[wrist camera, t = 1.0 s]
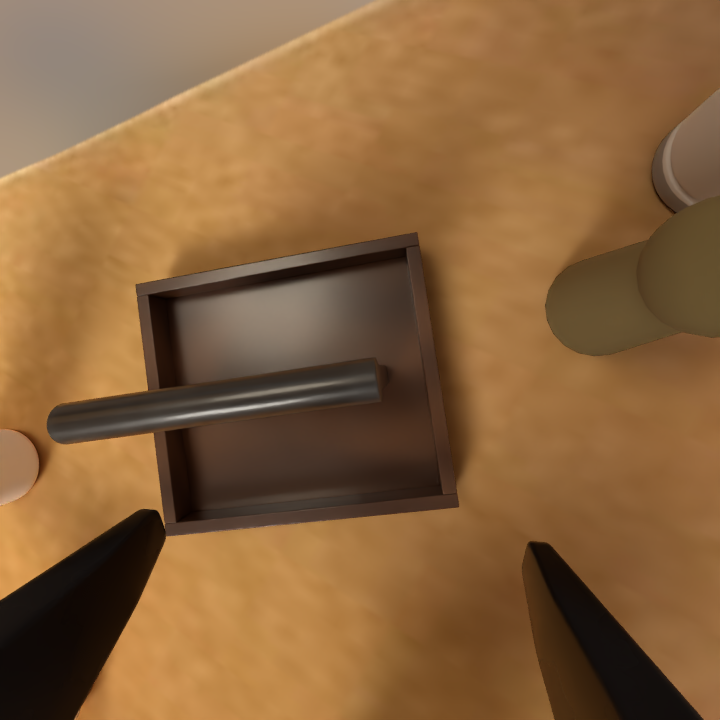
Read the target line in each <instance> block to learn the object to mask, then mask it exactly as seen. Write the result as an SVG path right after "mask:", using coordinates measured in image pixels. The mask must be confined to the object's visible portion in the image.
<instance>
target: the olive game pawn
mask: <svg viewBox="0 0 720 720" xmlns="http://www.w3.org/2000/svg"><path fill="white" fill-rule="evenodd" d="M545 307H546V315H547V321H548V323H549V325H550V327H551V330H552V332H553V334H554V335H555V336H556V337H557V338H558V339H559V340H560V341H561V342H562V343H563V344H564V345H565V346H567V347H569V348H571V349H572V350H574V351H576V352H578V353H582V354H587V355H592V356H599V355H610V354H614V353H617V352H620V351H623V350H626V349H630V348H633V347H636V346H639V345H642V344H645V343H649V342H652V341H655V340H658V339H661V338H664V337H668V336H671V335H674V334H677V333H680V332H685V333H689V334H695V335H700V336H705V337H711V338H714V337H720V195H719V196H715V197H711V198H707V199H705V200H702V201H700V202H698V203H696V204H693V205H691V206H689V207H687V208H684V209H683V210H681V211H679V212H678V213H676V214H674V215H673V216H672V217H671V218H670V219H668V220H667V221H666V222H665V223H664V224H663V225H661V226H660V227H659V228H658V229H657V230H656V231H655V232H654V233H653V234H652V236H651V237H650V238H649V240H646V241H643V242H639V243H636V244H633V245H630V246H627V247H624V248H620V249H617V250H614V251H611V252H608V253H605V254H601V255H598V256H595V257H592V258H589V259H586V260H583V261H580V262H578V263H576V264H574V265H571V266H569V267H568V268H566V269H565V270H564V271H563V272H562V273H561V274H560V275H558V276H557V277H556V279H555V281H554V282H553V284H552V286H551V287H550V289H549V291H548V295H547V300H546V304H545Z"/></svg>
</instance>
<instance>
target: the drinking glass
mask: <svg viewBox="0 0 720 720" xmlns="http://www.w3.org/2000/svg"><path fill="white" fill-rule="evenodd" d="M38 472H39V458H38V454H37V451H36V449H35V447H34V445H33V443H32V442H31V441H30V440H29V439H28V438H27V437H26V436H25V435H23V434H21V433H20V432H17V431H14V430H10V429H0V506H2V505H4V504H7V503H10V502H13V501H15V500H17V499H19V498H21V497H22V496H24V495H25V494H26V493H27V492H28V491H29V490H30V489H31V488H32V486H33V485H34V483H35V481H36V479H37V476H38Z"/></svg>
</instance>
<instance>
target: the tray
mask: <svg viewBox="0 0 720 720" xmlns="http://www.w3.org/2000/svg"><path fill="white" fill-rule="evenodd" d="M136 293H137V296H138V297H137V302H138V310H139V318H140V326H141V334H142V342H143V350H144V359H145V367H146V375H147V383H148V391H143V392H136V393H130V394H123V395H116V396H110V397H103V398H96V399H89V400H83V401H76V402H69V403H63V404H60V405H58V406H56V407H55V408H54V409H53V410H52V411H51V412H50V414H49V416H48V419H47V430H48V433H49V435H50V437H51V438H52V439H53V440H54V441H56V442H58V443H60V444H73V443H81V442H88V441H96V440H103V439H111V438H118V437H125V436H133V435H140V434H148V433H154V440H155V448H156V456H157V464H158V472H159V481H160V489H161V497H162V505H163V513H164V521H165V523H166V524H165V530H166V536H176V535H186V534H196V533H206V532H216V531H226V530H236V529H246V528H256V527H266V526H276V525H286V524H296V523H306V522H316V521H326V520H336V519H346V518H356V517H367V516H377V515H387V514H397V513H407V512H417V511H427V510H437V509H447V508H457V507H459V502H458V496H457V489H456V483H455V476H454V470H453V463H452V456H451V450H450V443H449V437H448V430H447V424H446V417H445V410H444V404H443V397H442V391H441V384H440V378H439V371H438V364H437V358H436V351H435V345H434V338H433V332H432V325H431V318H430V312H429V305H428V299H427V292H426V286H425V279H424V272H423V266H422V259H421V253H420V246H419V240H418V233H417V232H415V233H410V234H404V235H399V236H393V237H388V238H383V239H377V240H372V241H367V242H361V243H356V244H350V245H345V246H340V247H334V248H329V249H323V250H318V251H313V252H307V253H302V254H297V255H291V256H286V257H280V258H275V259H270V260H264V261H259V262H254V263H248V264H243V265H237V266H232V267H227V268H221V269H216V270H210V271H205V272H200V273H194V274H189V275H184V276H178V277H173V278H167V279H162V280H157V281H151V282H146V283H140V284H136Z"/></svg>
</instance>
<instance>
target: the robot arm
mask: <svg viewBox="0 0 720 720" xmlns="http://www.w3.org/2000/svg"><path fill="white" fill-rule="evenodd" d="M165 539H166V531H165V528H164V525H163V522H162V520H161V517H160V514H159V512H158V511H156V510H149V509H141V510H139V511H137V512H135V513H134V514H132V515H131V516H129V517H128V518H126V519H124V520H123V521H121V522H120V523H118V524H117V525H115V526H114V527H112V528H111V529H109V530H108V531H106V532H105V533H103V534H101V535H100V536H98V537H97V538H95V539H94V540H92V541H91V542H89V543H88V544H86V545H85V546H83V547H82V548H80V549H78V550H77V551H75V552H74V553H72V554H71V555H69V556H68V557H66V558H65V559H63V560H62V561H60V562H59V563H57V564H55V565H54V566H52V567H51V568H49V569H48V570H46V571H45V572H43V573H42V574H40V575H39V576H37V577H36V578H34V579H32V580H31V581H29V582H28V583H26V584H25V585H23V586H22V587H20V588H19V589H17V590H16V591H14V592H13V593H11V594H9V595H8V596H6V597H5V598H3V599H2V600H0V720H74V719H75V717H76V715H77V713H78V711H79V710H80V708H81V706H82V704H83V702H84V700H85V699H86V697H87V695H88V693H89V691H90V690H91V688H92V686H93V684H94V682H95V680H96V679H97V677H98V675H99V673H100V671H101V670H102V668H103V666H104V664H105V662H106V660H107V659H108V657H109V655H110V653H111V651H112V649H113V648H114V646H115V644H116V642H117V640H118V639H119V637H120V635H121V633H122V631H123V629H124V628H125V626H126V624H127V622H128V620H129V618H130V617H131V615H132V613H133V611H134V609H135V607H136V605H137V603H138V601H139V599H140V597H141V595H142V592H143V590H144V588H145V586H146V583H147V581H148V579H149V577H150V574H151V572H152V570H153V568H154V565H155V563H156V561H157V558H158V556H159V554H160V552H161V549H162V547H163V545H164V542H165ZM522 575H523V581H524V587H525V592H526V598H527V604H528V609H529V615H530V621H531V626H532V632H533V638H534V643H535V648H536V653H537V657H538V661H539V665H540V668H541V672H542V676H543V679H544V683H545V686H546V690H547V694H548V697H549V701H550V704H551V708H552V712H553V715H554V719H555V720H704V719H703V718H702V717H701V716H700V715H699V714H698V713H697V711H696V710H695V709H694V708H693V707H692V706H691V705H690V703H689V702H688V701H687V700H686V699H685V698H684V697H683V695H682V694H681V693H680V692H679V691H678V690H677V689H676V687H675V686H674V685H673V684H672V683H671V682H670V681H669V680H668V678H667V677H666V676H665V675H664V674H663V673H662V672H661V670H660V669H659V668H658V667H657V666H656V665H655V664H654V662H653V661H652V660H651V659H650V658H649V657H648V656H647V654H646V653H645V652H644V651H643V650H642V649H641V648H640V646H639V645H638V644H637V643H636V642H635V641H634V640H633V639H632V637H631V636H630V635H629V634H628V633H627V632H626V631H625V629H624V628H623V627H622V626H621V625H620V624H619V623H618V621H617V620H616V619H615V618H614V617H613V616H612V615H611V613H610V612H609V611H608V610H607V609H606V608H605V607H604V605H603V604H602V603H601V602H600V601H599V600H598V599H597V597H596V596H595V595H594V594H593V593H592V592H591V591H590V590H589V588H588V587H587V586H586V585H585V584H584V583H583V582H582V580H581V579H580V578H579V577H578V576H577V575H576V574H575V572H574V571H573V570H572V569H571V568H570V567H569V566H568V564H567V563H566V562H565V561H564V560H563V559H562V558H561V556H560V555H559V554H558V553H557V552H556V551H555V550H554V549H553V547H552V546H551V545H550V544H548V543H546V542H538V541H530V542H528V544H527V547H526V551H525V556H524V560H523V564H522Z"/></svg>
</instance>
